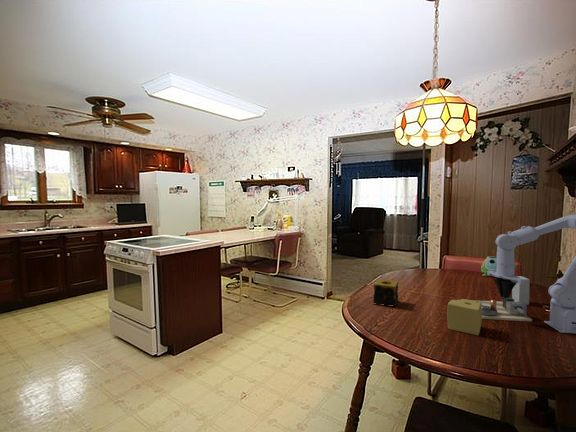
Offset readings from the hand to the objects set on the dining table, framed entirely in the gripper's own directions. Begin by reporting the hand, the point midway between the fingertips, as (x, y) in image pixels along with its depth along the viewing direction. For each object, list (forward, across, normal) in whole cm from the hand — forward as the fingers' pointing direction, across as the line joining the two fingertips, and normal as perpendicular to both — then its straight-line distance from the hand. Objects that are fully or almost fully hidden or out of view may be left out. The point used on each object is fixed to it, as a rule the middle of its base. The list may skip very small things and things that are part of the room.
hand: (504, 297), depth 117 cm
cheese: (+10, +3, -21) cm, 23 cm away
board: (+9, -9, +3) cm, 13 cm away
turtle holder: (+10, -55, +56) cm, 79 cm away
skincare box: (+10, -14, +25) cm, 30 cm away
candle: (+10, -30, -36) cm, 47 cm away
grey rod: (+8, -3, +8) cm, 12 cm away
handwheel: (+8, -6, -3) cm, 11 cm away
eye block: (+9, -2, +8) cm, 12 cm away
